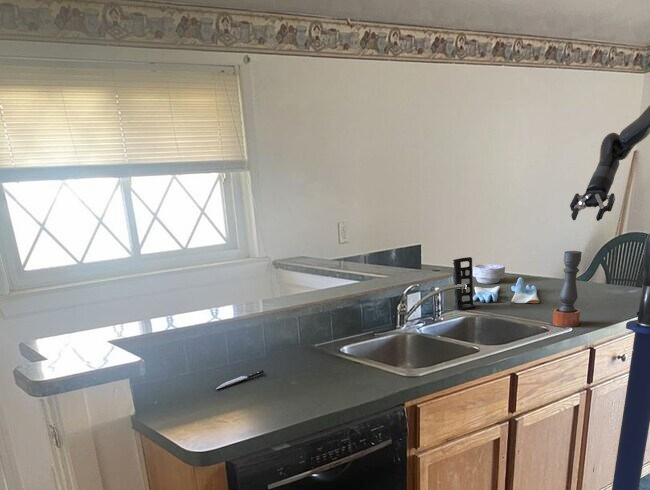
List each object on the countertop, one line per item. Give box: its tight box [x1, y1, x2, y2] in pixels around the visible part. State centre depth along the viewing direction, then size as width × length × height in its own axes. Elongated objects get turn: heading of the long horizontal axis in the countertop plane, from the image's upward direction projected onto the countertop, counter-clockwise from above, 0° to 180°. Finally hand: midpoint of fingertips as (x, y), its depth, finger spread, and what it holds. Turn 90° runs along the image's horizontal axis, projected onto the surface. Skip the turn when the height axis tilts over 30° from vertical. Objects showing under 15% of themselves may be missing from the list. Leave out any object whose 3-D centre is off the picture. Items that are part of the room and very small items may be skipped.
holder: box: [452, 256, 475, 311], centre depth 267 cm, size 11×8×20 cm
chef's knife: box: [215, 369, 265, 390], centre depth 194 cm, size 19×1×3 cm
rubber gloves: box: [473, 277, 540, 304], centre depth 287 cm, size 27×33×6 cm
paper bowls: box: [472, 263, 506, 285], centre depth 317 cm, size 15×15×8 cm
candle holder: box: [558, 250, 583, 313], centre depth 234 cm, size 6×6×25 cm
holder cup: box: [552, 307, 581, 328], centre depth 238 cm, size 9×9×5 cm
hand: (585, 219), depth 231 cm, fingers open, 8 cm apart
